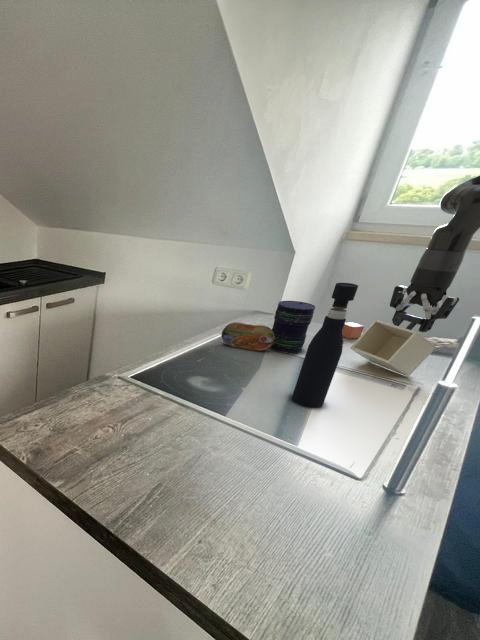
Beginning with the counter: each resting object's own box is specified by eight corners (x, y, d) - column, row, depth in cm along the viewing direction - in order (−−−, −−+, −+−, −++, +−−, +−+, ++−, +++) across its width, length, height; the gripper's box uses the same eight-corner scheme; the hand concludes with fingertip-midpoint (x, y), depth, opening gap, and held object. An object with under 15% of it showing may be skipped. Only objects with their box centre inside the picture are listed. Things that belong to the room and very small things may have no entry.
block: (348, 333, 140) (352, 322, 138) (359, 337, 136) (364, 326, 134) (337, 334, 140) (341, 322, 138) (348, 338, 136) (353, 326, 134)
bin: (408, 376, 109) (388, 363, 106) (369, 361, 119) (349, 348, 116) (450, 333, 104) (430, 317, 101) (405, 320, 114) (386, 306, 111)
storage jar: (291, 356, 124) (305, 311, 118) (260, 346, 132) (271, 303, 126) (308, 349, 128) (322, 305, 122) (276, 340, 136) (288, 299, 130)
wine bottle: (285, 398, 100) (322, 283, 88) (301, 393, 102) (339, 280, 90) (312, 410, 95) (355, 289, 82) (328, 404, 97) (372, 285, 85)
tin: (219, 344, 134) (224, 321, 131) (220, 341, 136) (225, 318, 133) (270, 353, 126) (277, 329, 123) (271, 350, 128) (278, 326, 125)
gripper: (483, 272, 96) (450, 336, 103) (418, 262, 109) (393, 319, 116) (458, 273, 95) (426, 337, 102) (396, 262, 108) (371, 320, 115)
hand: (409, 327), depth 109 cm, fingers closed on bin, 6 cm apart
